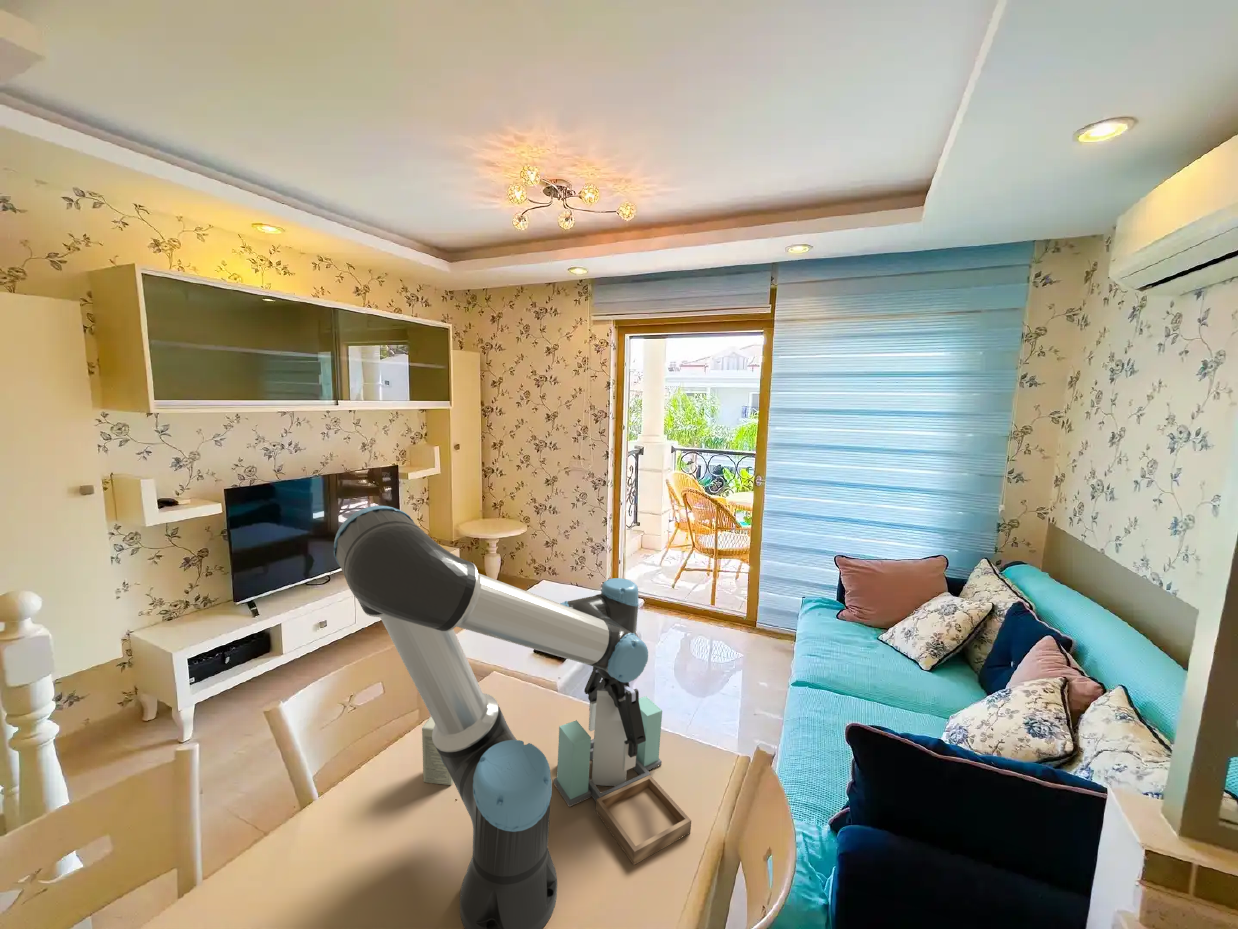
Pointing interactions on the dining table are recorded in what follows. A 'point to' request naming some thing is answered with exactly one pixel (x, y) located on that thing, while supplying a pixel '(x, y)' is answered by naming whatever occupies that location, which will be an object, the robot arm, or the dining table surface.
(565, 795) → the holder
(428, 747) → the skincare box
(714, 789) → the dining table surface
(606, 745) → the milk carton
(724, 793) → the dining table surface
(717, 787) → the dining table surface
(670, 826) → the tray
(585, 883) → the dining table surface
